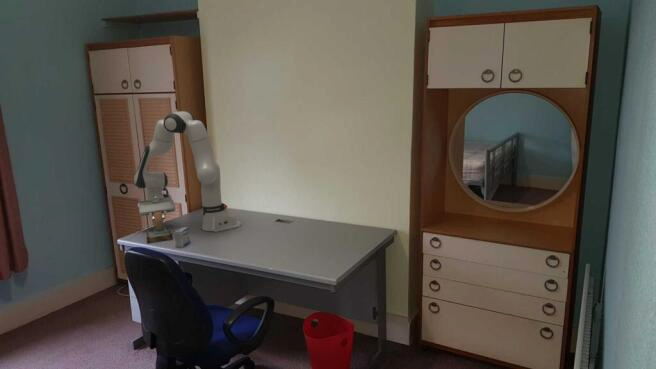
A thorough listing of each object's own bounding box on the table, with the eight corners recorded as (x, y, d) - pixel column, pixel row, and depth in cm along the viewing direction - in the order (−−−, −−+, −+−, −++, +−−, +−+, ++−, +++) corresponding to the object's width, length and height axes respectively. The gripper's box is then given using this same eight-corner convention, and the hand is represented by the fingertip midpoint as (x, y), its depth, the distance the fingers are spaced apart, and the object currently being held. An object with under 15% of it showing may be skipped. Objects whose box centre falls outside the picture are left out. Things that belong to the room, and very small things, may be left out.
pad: (165, 227, 278) (165, 227, 278) (167, 232, 269) (166, 231, 269) (153, 229, 276) (153, 229, 276) (154, 234, 267) (154, 233, 267)
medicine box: (183, 247, 243) (181, 231, 242) (175, 247, 244) (173, 231, 242) (190, 242, 251) (188, 227, 249) (183, 242, 252) (181, 226, 250)
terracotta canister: (163, 227, 275) (161, 210, 273) (164, 229, 271) (162, 212, 269) (155, 228, 273) (153, 211, 271) (155, 230, 269) (153, 213, 267)
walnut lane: (170, 232, 270) (170, 227, 269) (172, 239, 257) (172, 234, 256) (146, 235, 265) (146, 230, 264) (147, 243, 252) (146, 238, 251)
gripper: (136, 199, 271) (139, 219, 264) (173, 194, 278) (176, 214, 271) (137, 204, 276) (140, 224, 269) (173, 200, 283) (176, 219, 276)
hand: (158, 219), depth 270 cm, fingers closed on terracotta canister, 4 cm apart
